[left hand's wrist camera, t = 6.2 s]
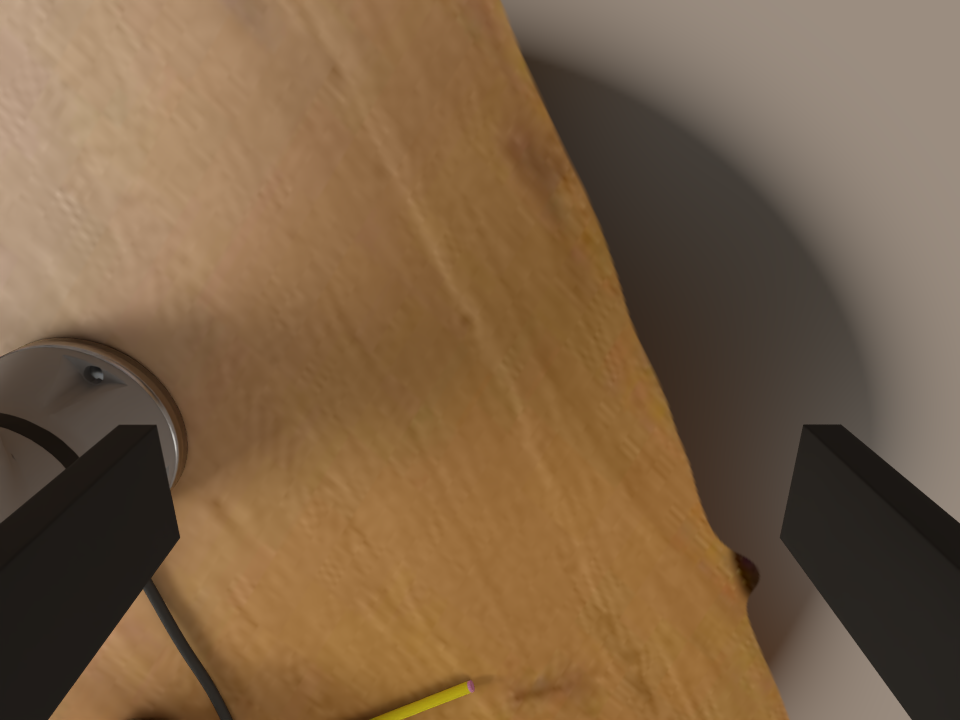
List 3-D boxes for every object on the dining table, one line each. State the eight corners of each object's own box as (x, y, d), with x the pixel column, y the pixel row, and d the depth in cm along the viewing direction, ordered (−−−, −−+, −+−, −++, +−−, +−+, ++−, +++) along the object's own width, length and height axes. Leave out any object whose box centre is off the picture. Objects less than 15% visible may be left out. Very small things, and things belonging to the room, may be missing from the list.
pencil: (469, 677, 56) (469, 686, 55) (474, 684, 57) (474, 694, 56) (316, 737, 59) (314, 747, 58) (322, 744, 59) (319, 753, 59)
